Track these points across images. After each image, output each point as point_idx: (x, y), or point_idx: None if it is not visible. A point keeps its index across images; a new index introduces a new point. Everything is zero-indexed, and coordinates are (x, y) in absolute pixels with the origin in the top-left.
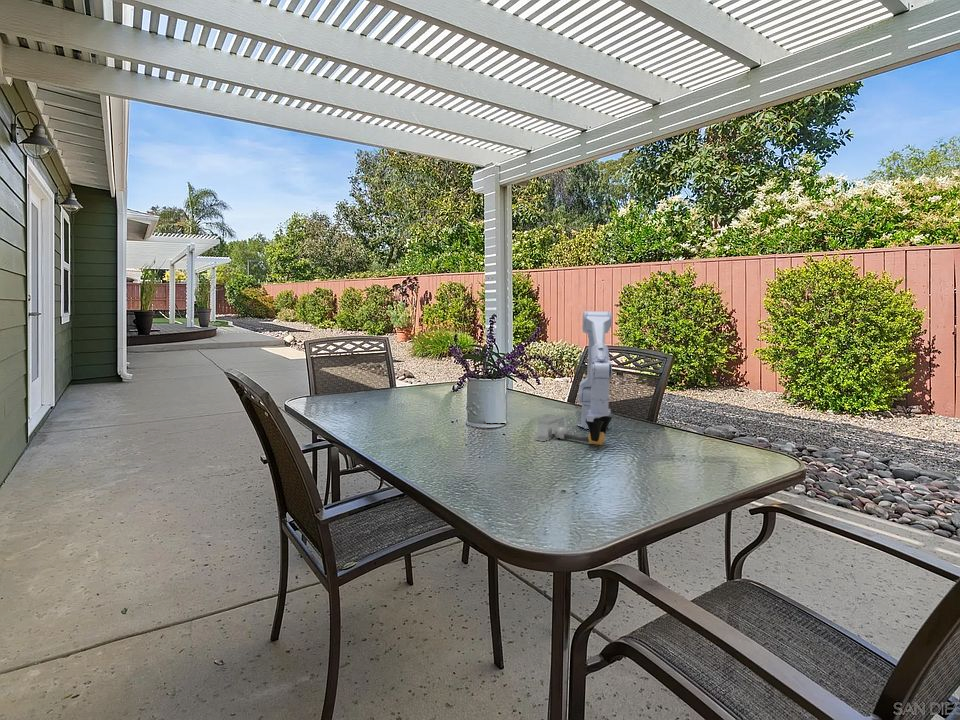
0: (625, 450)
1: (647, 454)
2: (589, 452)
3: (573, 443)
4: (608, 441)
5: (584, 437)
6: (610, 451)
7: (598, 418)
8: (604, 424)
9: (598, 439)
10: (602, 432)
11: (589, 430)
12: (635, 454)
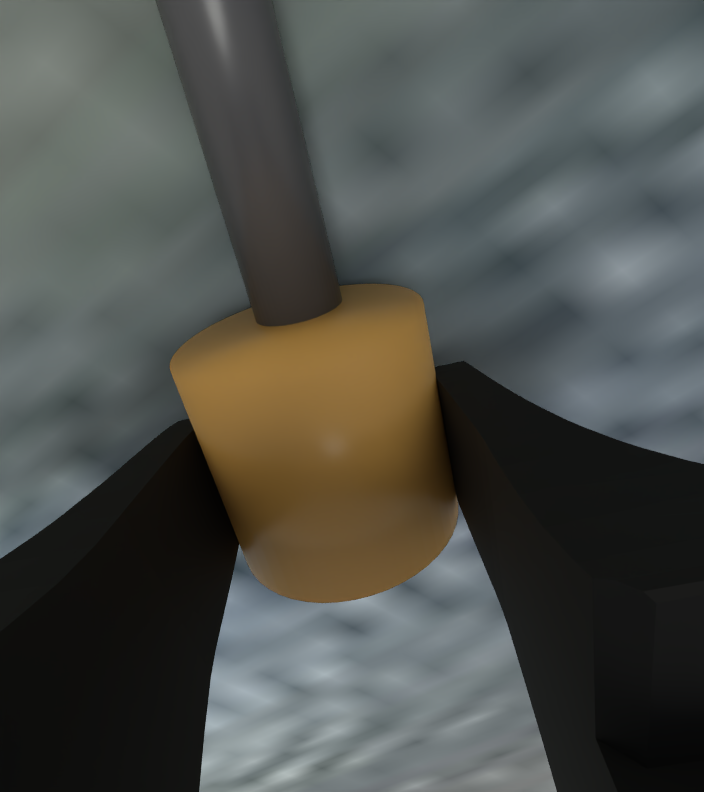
0: (433, 640)
1: (467, 767)
2: (3, 495)
3: (87, 15)
4: (677, 331)
5: (228, 199)
6: (267, 589)
7: (590, 708)
8: (535, 682)
9: None
10: (353, 596)
11: (42, 533)
12: (386, 731)
